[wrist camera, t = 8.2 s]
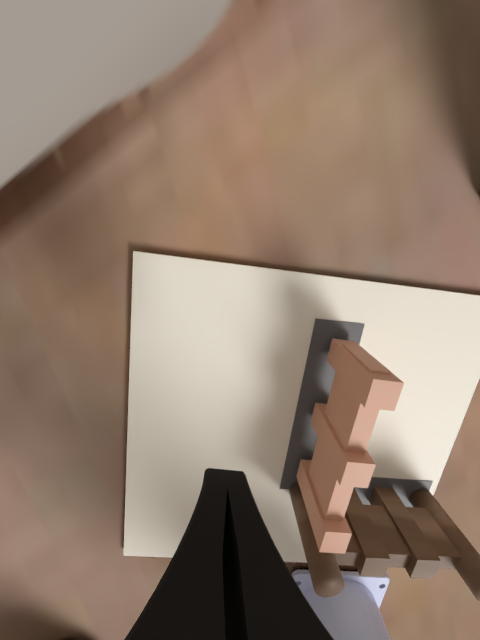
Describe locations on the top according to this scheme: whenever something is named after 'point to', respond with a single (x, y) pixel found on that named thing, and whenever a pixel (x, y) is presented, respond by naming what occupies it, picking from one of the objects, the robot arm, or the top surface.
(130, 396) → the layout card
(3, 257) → the top surface
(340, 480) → the folding fence panel
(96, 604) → the top surface
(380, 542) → the fixed fence section
